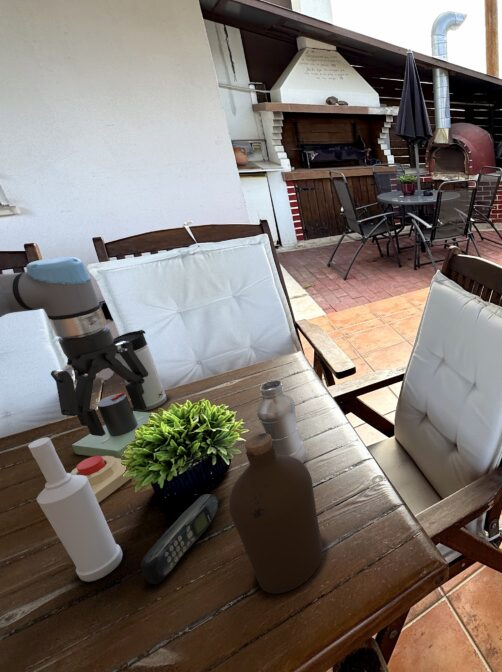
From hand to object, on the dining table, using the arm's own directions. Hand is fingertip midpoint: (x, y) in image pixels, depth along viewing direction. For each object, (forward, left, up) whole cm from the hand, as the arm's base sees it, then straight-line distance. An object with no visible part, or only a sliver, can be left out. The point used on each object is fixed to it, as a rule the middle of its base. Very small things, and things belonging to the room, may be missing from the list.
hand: (120, 420), depth 90 cm
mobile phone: (+37, -20, -5) cm, 42 cm away
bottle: (+27, -26, -5) cm, 38 cm away
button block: (+8, -12, -5) cm, 15 cm away
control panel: (0, 0, -5) cm, 5 cm away
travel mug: (-7, +12, -5) cm, 15 cm away
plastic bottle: (+43, -2, -5) cm, 43 cm away
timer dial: (0, 0, -2) cm, 2 cm away
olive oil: (+57, -21, -5) cm, 61 cm away
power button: (+8, -12, -1) cm, 14 cm away
